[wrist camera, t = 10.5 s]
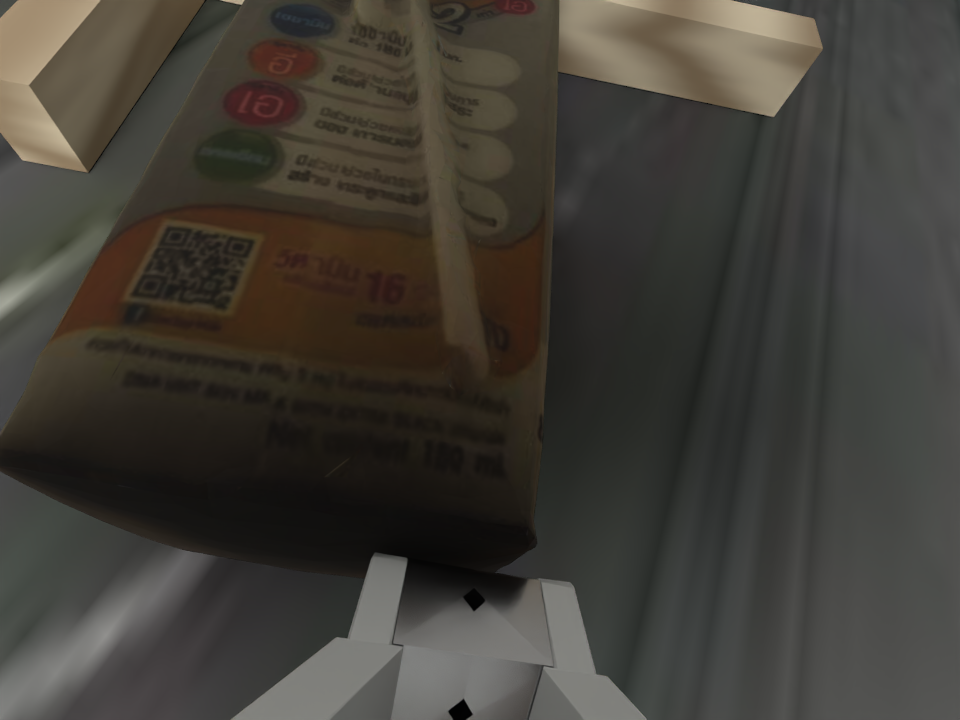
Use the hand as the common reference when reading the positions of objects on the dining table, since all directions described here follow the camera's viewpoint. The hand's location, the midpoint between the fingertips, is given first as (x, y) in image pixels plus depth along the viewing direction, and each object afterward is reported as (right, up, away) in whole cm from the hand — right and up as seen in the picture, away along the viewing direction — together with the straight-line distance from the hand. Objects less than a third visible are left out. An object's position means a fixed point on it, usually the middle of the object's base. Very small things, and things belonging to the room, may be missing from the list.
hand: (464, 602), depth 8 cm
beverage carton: (-3, +7, +9) cm, 12 cm away
